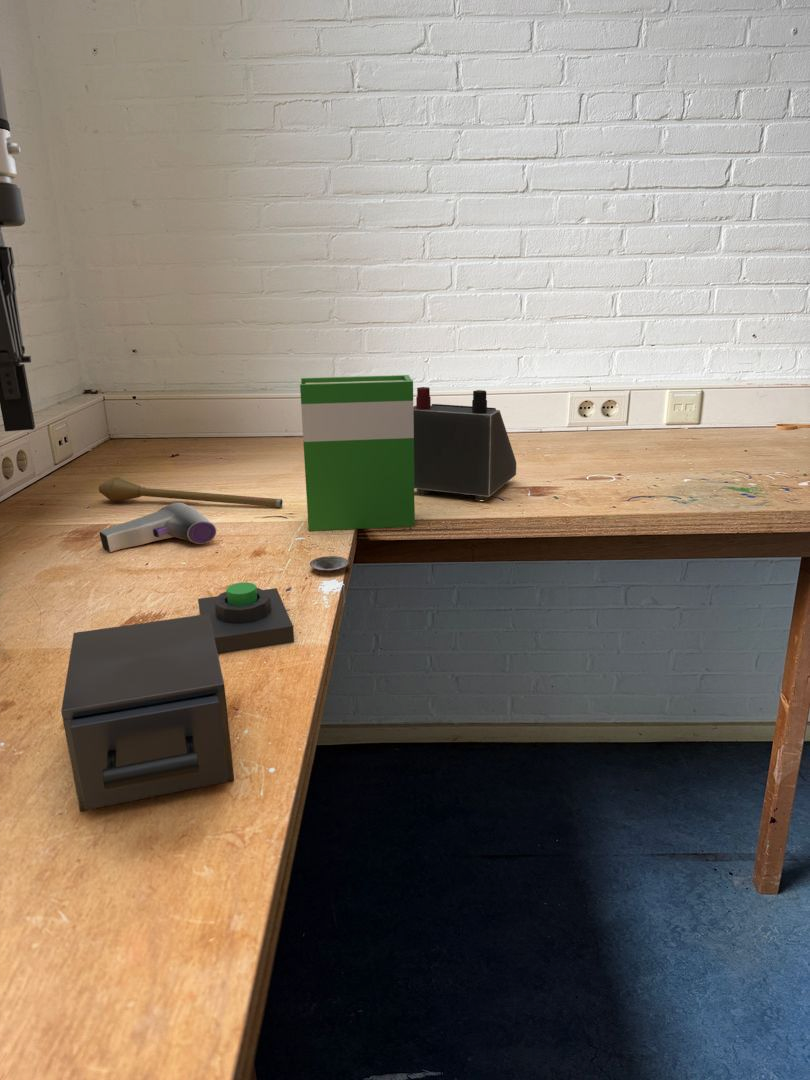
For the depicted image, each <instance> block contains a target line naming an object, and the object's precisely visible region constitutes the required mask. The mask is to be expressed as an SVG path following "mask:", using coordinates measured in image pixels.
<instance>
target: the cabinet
mask: <svg viewBox="0 0 810 1080" xmlns="http://www.w3.org/2000/svg"><path fill="white" fill-rule="evenodd" d="M225 686H226V685H225V682H224V677H223V672H222V666H221V662H220V658H219V654H218V653H217V648H216V643H215V639H214V634H213V629H212V625H211V620H210V615H209V614H204V615H200V614H196V615H191V616H184V617H175V618H169V619H162V620H157V621H148V622H141V623H134V624H126V625H119V626H112V627H106V628H105V627H104V628H98V629H91V630H85V631H77V632H73V634H72V641H71V647H70V653H69V659H68V665H67V671H66V678H65V685H64V691H63V698H62V703H61V710H60V712H61V717H62V723H63V728H64V734H65V739H66V744H67V749H68V750H67V751H68V755H69V760H70V766H71V771H72V777H73V781H74V787H75V793H76V798H77V803H78V809H79V812H86V811H85V806H84V801H83V795H82V790H81V784H80V779H79V773H78V768H77V762H76V757H75V752H74V746H73V741H72V735H71V730H70V726H71V720H74V719H80V718H83V716H86V715H92V714H98V713H104V712H110V711H115V710H121V709H127V708H133V707H139V706H145V705H151V704H157V703H163V702H169V701H174V700H180V699H186V698H192V697H198V696H204V695H209V696H215V695H218V698H219V704H220V713H221V722H222V731H223V740H224V750H225V759H226V768H227V777H228V781H227V782H222V783H217V784H212V785H208V786H203V787H198V788H193V789H188V790H183V791H178V792H173V793H168V794H163V795H158V796H153V797H148V798H143V799H138V800H133V801H132V802H134V801H135V802H136V801H141V800H145V799H151V798H155V797H156V798H157V797H161V796H166V795H171V794H175V793H180V792H185V791H190V790H195V789H200V788H206V787H210V786H216V785H220V784H225V783H230V782H234V781H235V774H234V763H233V754H232V744H231V735H230V726H229V725H230V724H229V716H228V715H229V714H228V708H227V707H228V706H227V697H226V687H225ZM125 803H126V804H127V803H131V802H130V801H128V802H123V803H118V804H113V805H108V806H103V807H102V808H106V807H111V806H115V805H116V806H117V805H121V804H125ZM97 809H101V808H100V807H98V808H97ZM92 810H96V809H95V808H93V809H92ZM87 811H90V810H89V809H88V810H87Z"/></svg>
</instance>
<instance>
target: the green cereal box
mask: <svg viewBox="0 0 810 1080" xmlns="http://www.w3.org/2000/svg"><path fill="white" fill-rule="evenodd" d="M300 380H301V383H300V384H299V389H300V390H299V391H300V392H299V393H300V407H301V409H300V410H301V425H302V441H303V458H304V459H303V460H304V474H305V475H304V477H305V493H306V510H307V525H308V526H307V527H308V532H317V531H318V532H319V531H338V530H339V531H341V530H360V529H362V530H364V529H384V528H386V529H387V528H407V527H409V528H411V527H415V526H416V525H415V523H416V517H415V516H416V515H415V514H416V513H415V510H416V509H415V504H416V503H415V488H414V416H413V406H414V381H413V379H412V378H411V377H410V375H409V374H395V375H394V374H392V375H360V376H357V375H356V376H327V377H326V376H324V377H323V376H322V377H321V376H320V377H301V378H300Z"/></svg>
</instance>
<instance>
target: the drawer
mask: <svg viewBox="0 0 810 1080" xmlns="http://www.w3.org/2000/svg"><path fill="white" fill-rule="evenodd" d="M70 730H71V735H72V741H73V746H74V752H75V757H76V762H77V768H78V773H79V779H80V784H81V790H82V795H83V801H84V806H85V810H86V811H89V810H88V809H91V810H94V809H93V808H96V809H99V808H98V807H101V808H104V807H103V806H106V807H109V806H108V805H111V806H114V805H113V804H116V805H119V804H118V803H121V804H124V803H123V802H126V803H129V802H128V801H131V802H134V801H133V800H136V801H139V800H138V799H141V800H144V799H143V798H146V799H149V798H148V797H151V798H154V797H153V796H156V797H159V796H158V795H161V796H164V795H163V794H166V795H169V794H168V793H171V794H174V793H173V792H176V793H179V792H178V791H181V792H184V791H183V790H186V791H189V790H188V789H191V790H194V789H193V788H196V789H199V788H198V787H201V788H204V787H203V786H206V787H209V786H208V785H211V786H213V785H212V784H216V785H218V784H217V783H221V784H223V783H222V782H226V783H228V782H227V781H228V777H227V768H226V759H225V750H224V740H223V731H222V722H221V713H220V704H219V698H218V695H215V696H209V695H204V696H198V697H192V698H186V699H180V700H174V701H169V702H163V703H157V704H151V705H145V706H139V707H133V708H127V709H121V710H115V711H110V712H104V713H98V714H92V715H86V716H83V718H80V719H74V720H71V726H70Z"/></svg>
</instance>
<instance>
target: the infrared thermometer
mask: <svg viewBox="0 0 810 1080" xmlns="http://www.w3.org/2000/svg"><path fill="white" fill-rule="evenodd" d="M216 535H217V527H216V525H215V524H214V523H213V522H211V520H209V519H208V518H206V517H205V516H204V515H203V514H202V513H200V512H199V511H198V510H197V509H195V508H194V507H192V506H189V505H188V504H185V503H184V502H173V503H171V504H168V505H165V506H163V507H161V508H159V509H158V510H156V511H154V512H152V513H149V514H146V515H143V516H141V517H138V518H135V519H132V520H128V521H126V522H122V523H119V524H116V525H113V526H110V527H108V528H104V529H103V530H100V531H99V537H100V541H101V544H102V548H103V549H104V550H105V551H107V552H108V553H114V552H116V551H118V550H123V549H128V548H132V547H137V546H142V545H145V544H149V543H152V542H157V541H163V540H167V539H172V538H177V539H181V540H184V541H186V542H189V543H194V544H197V545H203V544H207V543H210V542H211V541H212V540H214V538H215V537H216Z"/></svg>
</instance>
